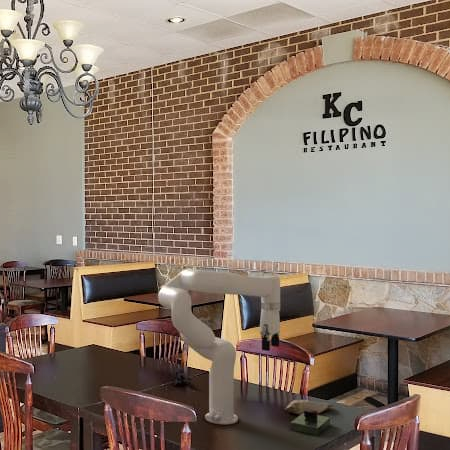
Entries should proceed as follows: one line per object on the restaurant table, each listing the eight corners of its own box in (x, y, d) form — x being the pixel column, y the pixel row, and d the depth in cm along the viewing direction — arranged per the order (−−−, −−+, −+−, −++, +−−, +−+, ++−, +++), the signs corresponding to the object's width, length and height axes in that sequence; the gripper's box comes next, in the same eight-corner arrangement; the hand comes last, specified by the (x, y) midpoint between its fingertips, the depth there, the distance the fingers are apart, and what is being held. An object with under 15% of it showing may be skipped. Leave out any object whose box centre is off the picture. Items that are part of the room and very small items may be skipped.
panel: (317, 435, 224) (318, 427, 224) (290, 430, 230) (290, 421, 230) (330, 425, 235) (330, 417, 235) (303, 420, 241) (303, 412, 241)
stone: (290, 405, 245) (282, 390, 254) (286, 418, 247) (278, 403, 257) (340, 409, 247) (330, 394, 256) (336, 422, 249) (326, 406, 259)
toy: (180, 388, 284) (166, 380, 298) (195, 388, 286) (181, 380, 301) (181, 374, 284) (167, 367, 299) (196, 374, 287) (182, 367, 301)
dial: (302, 420, 232) (302, 409, 232) (306, 416, 236) (306, 406, 236) (315, 422, 229) (315, 412, 229) (319, 419, 233) (319, 408, 233)
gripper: (270, 303, 259) (270, 343, 259) (253, 308, 245) (253, 350, 246) (287, 304, 255) (287, 345, 255) (271, 309, 241) (271, 353, 241)
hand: (270, 348), depth 250 cm, fingers open, 9 cm apart
